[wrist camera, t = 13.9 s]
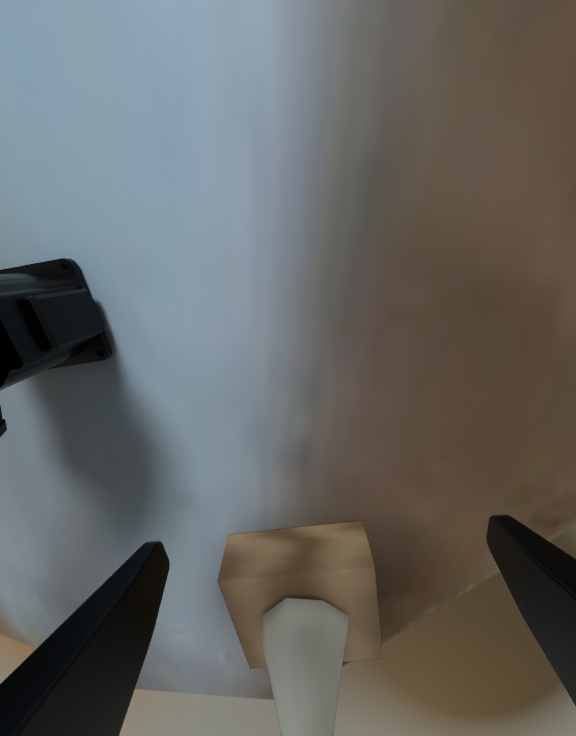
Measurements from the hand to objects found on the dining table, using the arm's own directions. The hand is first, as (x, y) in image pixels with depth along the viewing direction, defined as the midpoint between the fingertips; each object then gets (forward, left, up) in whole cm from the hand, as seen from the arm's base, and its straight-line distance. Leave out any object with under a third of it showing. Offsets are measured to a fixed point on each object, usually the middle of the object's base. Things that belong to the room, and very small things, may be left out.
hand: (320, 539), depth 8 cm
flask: (-3, -21, -9) cm, 23 cm away
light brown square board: (-3, -21, -13) cm, 25 cm away
